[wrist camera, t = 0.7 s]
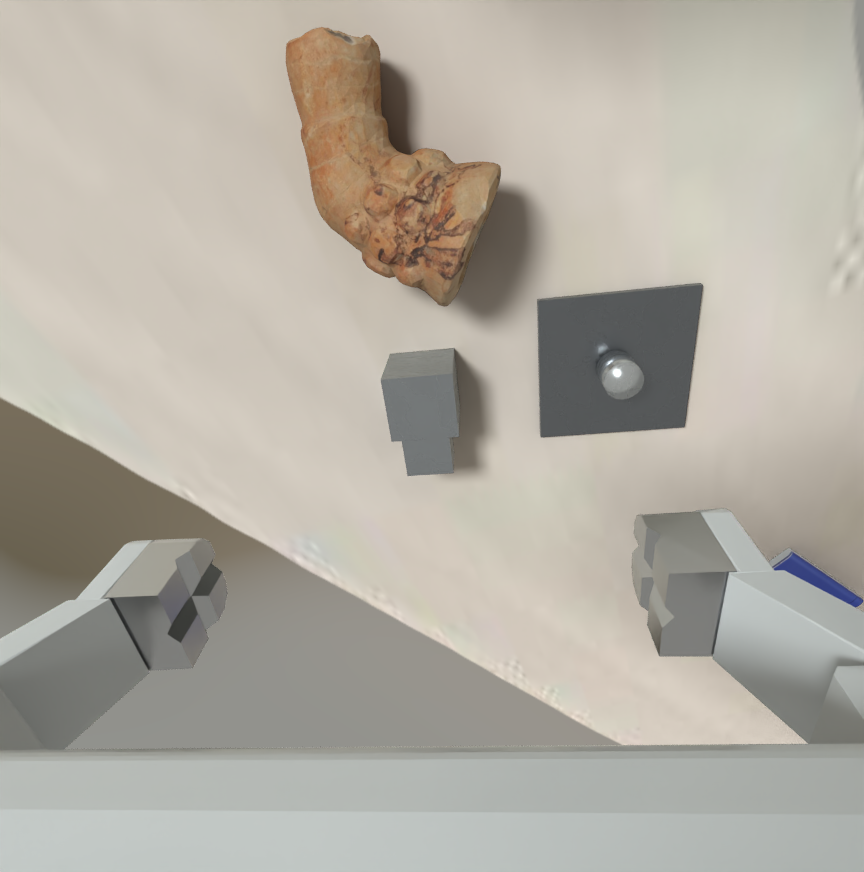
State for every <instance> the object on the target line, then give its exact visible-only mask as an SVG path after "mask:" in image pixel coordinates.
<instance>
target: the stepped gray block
mask: <svg viewBox="0 0 864 872" xmlns="http://www.w3.org/2000/svg"><path fill="white" fill-rule="evenodd" d="M381 384H382V389H383V395H384V401H385V406H386V412H387V417H388V423H389V429H390V434H391V440H392V442H394V441H402V445H403V451H404V457H405V463H406V468H407V474H408V476H414V475H430V474H445V473H453V472H454V445H453V437H459V422H460V401H459V391H458V382H457V372H456V362H455V352H454V348H451V349H440V350H429V351H418V352H407V353H396V354H390V356H389V358H388V361H387V364H386V367H385V369H384V372H383V375H382V378H381Z"/></svg>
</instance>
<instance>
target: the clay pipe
mask: <svg viewBox="0 0 864 872" xmlns="http://www.w3.org/2000/svg"><path fill="white" fill-rule="evenodd" d="M286 66H287V72H288V76H289V80H290V85H291V89H292V93H293V96H294V99H295V102H296V106H297V109H298V112H299V115H300V118H301V121H302V129H301V139H302V142H303V145H304V148H305V152H306V156H307V161H308V167H309V172H310V179H311V186H312V191H313V195H314V200H315V203H316V206H317V208H318V211H319V213H320V215H321V216H322V218H323V219H324V220H325V222H326V223H327V224H328V225H329V226H330V227H331V228H332V229H333V230H334V231H336V232H337V233H338V234H340V235H341V236H342V237H343V238H345V239H346V240H347V241H348V242H349V243H350V244H352V245H353V246H354V247H355V248H356V249H358V250H360V251H361V252H362V259H363V261H364V263H365V264H366V266H367V267H368V268H370V269H371V270H373V271H374V272H376V273H378V274H380V275H382V276H385V277H388V278H390V277H395V276H396V277H397V279H398V280H399V281H400V282H401V283H402V284H404V285H407V286H410V287H418V288H420V289H422V290H424V291H425V292H426V293H427V294H428V295H429V296H431V297H432V298H433V299H434V300H435V301H436V302H437V303H438V304H439V305H442V306H448V305H449V304H450V303H451V302H452V300H453V299H454V298H455V296H456V295H457V293H458V291H459V289H460V286H461V284H462V281H463V279H464V276H465V272H466V269H467V265H468V263H469V260H470V258H471V255H472V253H473V250H474V247H475V245H476V242H477V240H478V237H479V235H480V232H481V230H482V227H483V225H484V223H485V221H486V219H487V217H488V215H489V212H490V209H491V207H492V204H493V201H494V198H495V195H496V192H497V189H498V186H499V182H500V176H501V169H500V166H499V165H498V164H495V163H489V162H470V163H460V164H455V163H453V162H452V161H451V160H450V159H449V158H448V157H447V155H446V154H445V153H444V152H442V151H440V150H435V149H427V148H425V149H419V150H417V151H416V152H415V153H413V154H412V155H407V154H404V153H401V152H398V151H397V150H396V149H395V148H394V147H393V146H392V145H391V144H390V141H389V139H388V125H387V122H386V119H385V118H383V117H382V111H381V84H380V51H379V47H378V45H377V43H376V42H375V41H374V40H373V39H372V38H371V36H370V35H365V36H364V37H362V38H360V37H353V36H350V35H347V34H345V33H342V32H340V31H332V30H331V29H329V28H323V27H321V28H316V29H312V30H310V31H309V32H307V33H305V34H304V35H303V36H301V37H299V38H295V39H292V40H290V41H289V42H288V43H287V46H286Z"/></svg>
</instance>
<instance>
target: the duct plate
mask: <svg viewBox="0 0 864 872" xmlns="http://www.w3.org/2000/svg"><path fill="white" fill-rule="evenodd" d="M702 287H703V285H702V284H701V283H696V284H686V285H676V286H665V287H655V288H645V289H635V290H625V291H615V292H605V293H595V294H585V295H575V296H565V297H555V298H545V299H537V311H538V358H539V404H540V436H541V437H552V436H566V435H580V434H594V433H608V432H622V431H636V430H651V429H665V428H679V427H684V426H685V419H686V411H687V403H688V395H689V388H690V380H691V372H692V364H693V357H694V349H695V341H696V333H697V326H698V318H699V310H700V302H701V295H702Z"/></svg>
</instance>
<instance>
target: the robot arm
mask: <svg viewBox="0 0 864 872" xmlns="http://www.w3.org/2000/svg"><path fill="white" fill-rule="evenodd" d="M634 535H635V538H636V540H637V543H638V545H639V546H638V547H637V548H636V549H635V550H634V552H633V553H632V576H633V584H634V588H635V592H636V596H637V598H638V601H639V604H640V605H641V606H642V607H643V608H645V609H646V610H647V611H648V622H647V626H648V628H649V631H650V633H651V636H652V639H653V641H654V644H655V646H656V649H657V652H658V654H659V656H713V660H715V661H716V662H717V663H718V664H719V665H720V666H721V667H722V668H724V669H725V670H726V671H727V672H728V673H729V674H730V675H731V676H733V677H734V678H735V679H736V680H737V681H738V682H739V683H741V684H742V685H743V686H744V687H745V688H746V689H747V690H748V691H750V692H751V693H752V694H753V695H754V696H755V697H756V698H757V699H759V700H760V701H761V702H762V703H763V704H764V705H765V706H766V707H768V708H769V709H770V710H771V711H772V712H773V713H774V714H775V715H777V716H778V717H779V718H780V719H781V720H782V721H783V722H785V723H786V724H787V725H788V726H789V727H790V728H791V729H792V730H794V731H795V732H796V733H797V734H798V735H799V736H800V737H801V738H803V739H804V740H805V741H806V742H807V743H808V744H729V745H595V746H594V745H587V746H586V745H584V746H458V747H457V746H455V747H454V746H453V747H452V746H447V747H320V748H319V747H318V748H317V747H314V748H313V747H312V748H180V749H179V748H174V749H65V748H66V747H67V746H68V745H69V744H71V743H72V742H73V741H74V740H75V739H76V738H77V737H79V736H80V735H81V734H82V733H83V732H84V731H85V730H86V729H88V727H90V726H91V725H92V724H93V723H94V722H95V721H96V720H98V719H99V718H100V717H101V716H102V715H103V714H104V713H105V712H107V710H109V709H110V708H111V707H112V706H113V705H114V704H115V703H117V701H119V700H120V699H121V698H122V697H123V696H124V695H125V694H127V693H128V692H129V691H130V690H131V689H132V688H133V687H134V686H136V684H138V683H139V682H140V681H141V680H142V679H143V678H144V677H145V676H147V675H148V674H149V671H150V670H167V669H168V670H169V669H185V668H193V667H194V665H195V663H196V661H197V659H198V657H199V656H200V654H201V652H202V650H203V648H204V647H205V645H206V643H207V641H208V639H209V638H208V635H207V632H206V629H208V628H209V627H210V626H212V625H213V624H214V623H216V622H217V621H218V620H219V619H220V617H221V615H222V613H223V611H224V609H225V604H226V599H227V585H226V580H225V577H224V575H223V573H222V571H220V570H219V569H218V568H217V567H215V566H214V565H213V564H212V562H213V559H214V557H215V553H214V550H213V548H212V546H211V543H210V541H207V540H205V539H203V538H200V539H170V540H169V539H168V540H146V541H133V542H130V543H127V544H125V545H124V546H123V547H122V549H121V550H120V551H119V552H118V553H117V554H116V555H115V556H114V557H113V559H112V560H111V561H110V562H109V563H108V564H107V565H106V566H105V567H104V569H103V570H102V571H101V572H100V573H99V574H98V575H97V577H96V578H95V579H94V580H93V581H92V582H91V583H90V584H89V585H88V587H87V588H86V589H85V590H84V591H83V592H82V593H81V594H80V595H79V597H78V598H77V599H76V600H68V601H66V602H64V603H62V604H61V605H59V606H57V607H55V608H54V609H52V610H50V611H48V612H47V613H45V614H43V615H41V616H40V617H38V618H36V619H35V620H32V621H31V622H29V623H27V624H25V625H24V626H22V627H20V628H18V629H17V630H15V631H13V632H11V633H10V634H8V635H6V636H4V637H3V638H1V639H0V872H864V612H863V611H861V610H859V609H857V608H855V607H853V606H852V605H850V604H848V603H846V602H844V601H842V600H840V599H838V598H836V597H834V596H832V595H830V594H829V593H827V592H825V591H823V590H821V589H819V588H817V587H815V586H813V585H811V584H809V583H808V582H806V581H804V580H802V579H800V578H798V577H796V576H794V575H792V574H790V573H788V572H787V571H785V570H777V571H775V570H774V569H773V568H772V566H771V565H770V564H769V562H768V561H767V560H766V558H765V557H764V556H763V554H762V553H761V552H760V550H759V549H758V547H757V546H756V545H755V543H754V542H753V541H752V539H751V538H750V537H749V535H748V534H747V533H746V531H745V530H744V529H743V527H742V526H741V525H740V523H739V522H738V520H737V519H736V518H735V516H734V515H733V514H732V512H731V511H729V510H727V509H726V508H722V509H710V510H698V511H695V512H681V513H664V514H647V515H637V516H636V519H635V524H634Z"/></svg>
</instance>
